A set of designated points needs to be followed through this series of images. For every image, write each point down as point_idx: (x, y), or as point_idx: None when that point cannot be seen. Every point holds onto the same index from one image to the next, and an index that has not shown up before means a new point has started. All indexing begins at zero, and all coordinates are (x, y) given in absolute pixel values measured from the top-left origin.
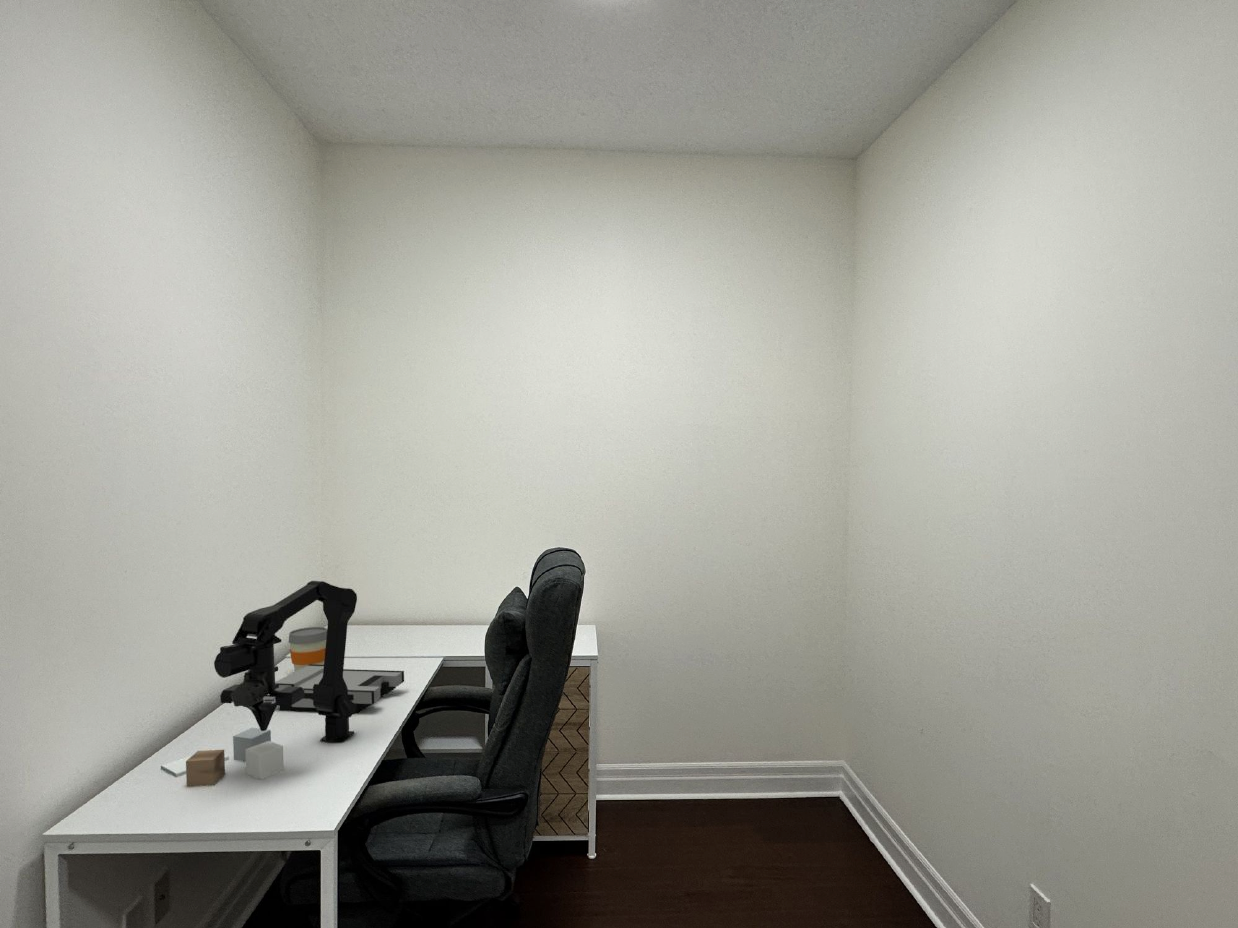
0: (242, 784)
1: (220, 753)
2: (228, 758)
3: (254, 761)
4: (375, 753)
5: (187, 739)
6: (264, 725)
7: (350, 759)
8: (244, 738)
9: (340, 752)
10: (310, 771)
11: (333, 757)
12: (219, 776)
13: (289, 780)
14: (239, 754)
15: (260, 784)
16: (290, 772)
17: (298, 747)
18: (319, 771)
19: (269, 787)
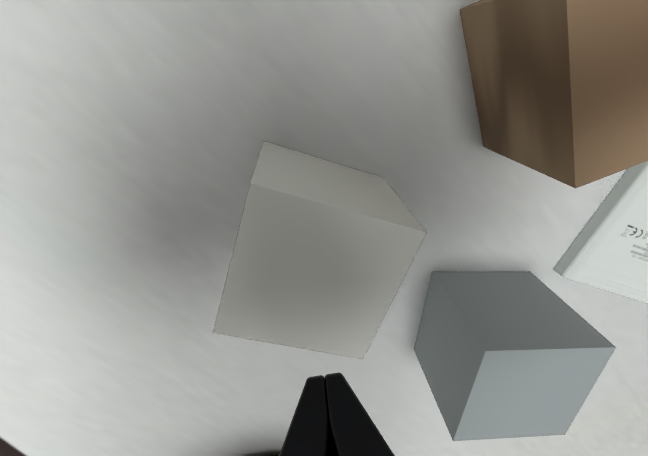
0: (305, 60)
1: (568, 126)
2: (556, 269)
3: (313, 180)
4: (16, 443)
5: None
6: (289, 428)
7: (54, 390)
8: (533, 345)
9: (154, 416)
10: (101, 272)
11: (138, 384)
12: (480, 84)
13: (101, 169)
14: (515, 287)
15: (207, 87)
16: (182, 240)
17: None
18: (61, 282)
19: (122, 66)
